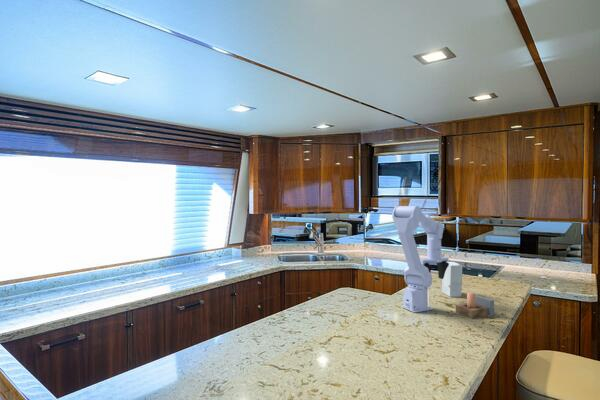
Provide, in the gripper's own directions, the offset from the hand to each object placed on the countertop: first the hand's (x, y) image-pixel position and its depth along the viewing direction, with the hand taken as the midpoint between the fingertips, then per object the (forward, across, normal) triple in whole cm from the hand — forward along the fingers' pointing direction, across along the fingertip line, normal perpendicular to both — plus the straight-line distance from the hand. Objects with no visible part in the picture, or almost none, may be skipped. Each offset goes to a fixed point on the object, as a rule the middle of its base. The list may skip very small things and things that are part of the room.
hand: (434, 279), depth 159 cm
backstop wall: (+9, +5, -20) cm, 23 cm away
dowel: (+9, 0, -20) cm, 22 cm away
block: (+9, 0, -20) cm, 22 cm away
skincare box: (+10, +14, +4) cm, 17 cm away
